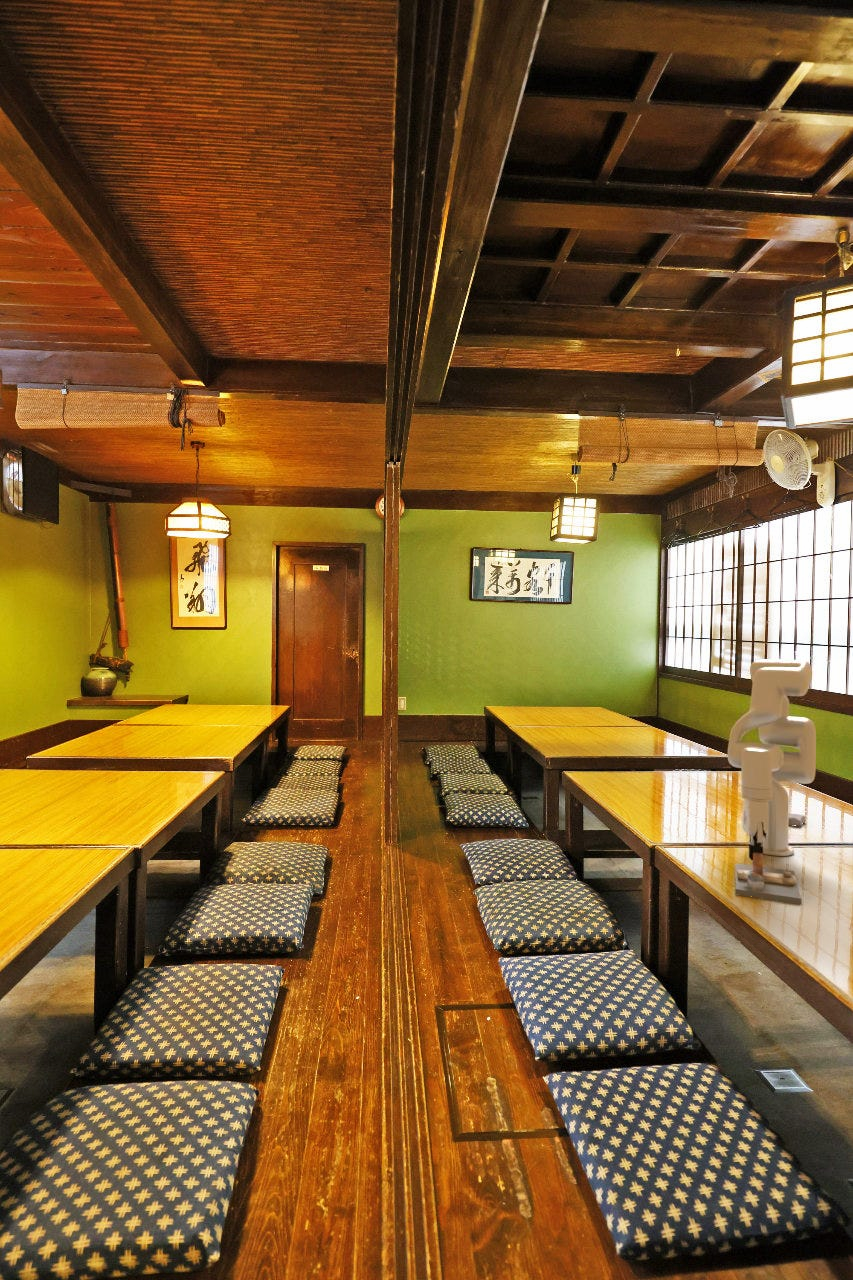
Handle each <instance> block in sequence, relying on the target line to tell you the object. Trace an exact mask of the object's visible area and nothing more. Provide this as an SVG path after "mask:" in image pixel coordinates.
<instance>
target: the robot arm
mask: <svg viewBox="0 0 853 1280" xmlns="http://www.w3.org/2000/svg"><path fill="white" fill-rule="evenodd" d="M812 669H813V668H812V666H811V664H810V663H809V661H806V660H801V659H800V660H799V659H758V660H755V661H753V662H751V664H750V666H749V674H750V679H751V681H752V685H751V687H752V688H751V694H750V695H751V696H750V705H749V710H748V711H747V712H745V713H744V714H743V715H742V716H741V717H740V718H738V719H737V721H736V722H735V723H734V724H733V726H732V728H731V730H730V733H729V740H728V745H727V761H728V763H729V764H730V765H731V766H732V767H734V768H738V769H741V771H740V772H741V779H740V780H741V783H740V785H741V786H740V787H741V789H740V791H741V792H740V793H741V799H743V802H742V803H743V804H742V817H741V818H742V819H741V827H742V830H743V831H744V832H745V834H746V835H747V837H748V840H749V843H748V859H750V860H751V861H753V853H761V854H763V855H768V856H769V855H770V856H775V857H776V856H777V857H787V856H792V855H793V854H794V853H795V848H793V846H791V845H789V827H790V826H789V811H790V810H789V807H790V806H789V805H790V804H789V803H790V799H789V798H790V797H789V794H788V791H787V790H786V788H785V787H784V786H783V785H782V783H785V782H786V783H793V784H803V785H805V784H806V785H807V784H812V782H814V780H815V777H816V765H817V764H816V763H817V762H816V759H817V755H816V754H817V752H816V751H817V732H816V726H815V723H814V722H813V721H812V720H811V718H807V717H802V716H790V699H789V698H788V696H789V697H803V696H805V695H806V694H807V693H808V691H809V689H810V685H811V683H812V679H813V670H812ZM755 729H758V737H759V741H760V742H761V743H760V742H749V741H741V740H742V738H743V737H744V736H745V734H747V733H748V732H750V731H752V730H755ZM781 747H787V748H789V747H790V748H795V749H798V750H799V751H791V750H782V748H781Z"/></svg>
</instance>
